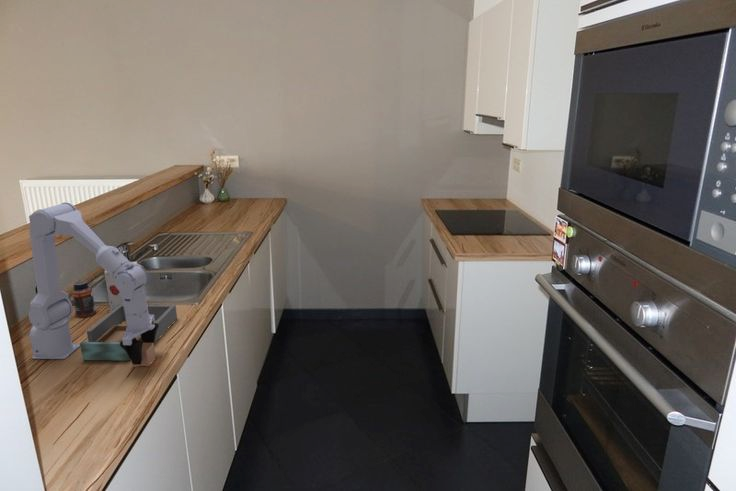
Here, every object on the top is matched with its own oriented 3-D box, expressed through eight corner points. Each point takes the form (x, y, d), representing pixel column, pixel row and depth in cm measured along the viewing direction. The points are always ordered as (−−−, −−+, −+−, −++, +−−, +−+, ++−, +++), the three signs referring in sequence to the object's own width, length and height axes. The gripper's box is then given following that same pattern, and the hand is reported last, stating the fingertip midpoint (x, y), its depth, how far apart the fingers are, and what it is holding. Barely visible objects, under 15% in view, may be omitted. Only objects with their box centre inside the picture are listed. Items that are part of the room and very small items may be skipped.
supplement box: (110, 314, 175) (102, 271, 170) (115, 303, 183) (109, 263, 178) (139, 311, 177) (132, 269, 172) (143, 300, 185) (137, 260, 180)
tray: (82, 360, 144) (79, 343, 143) (114, 332, 161) (111, 317, 159) (129, 360, 144) (126, 344, 142) (155, 332, 160) (153, 317, 159)
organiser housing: (89, 347, 152) (86, 331, 151) (121, 318, 171) (119, 304, 169) (151, 347, 152) (149, 332, 150) (177, 319, 170) (175, 305, 168)
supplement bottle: (100, 311, 177) (94, 280, 173) (87, 318, 171) (81, 286, 168) (85, 309, 178) (79, 278, 175) (71, 317, 172) (65, 285, 169)
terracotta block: (132, 367, 141) (129, 350, 140) (140, 358, 146) (137, 342, 144) (148, 367, 141) (146, 350, 140) (155, 359, 145) (153, 342, 144)
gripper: (138, 322, 132) (146, 370, 136) (162, 300, 146) (168, 344, 150) (111, 322, 132) (119, 370, 136) (137, 300, 146) (144, 343, 150)
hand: (143, 356), depth 143 cm, fingers open, 7 cm apart
